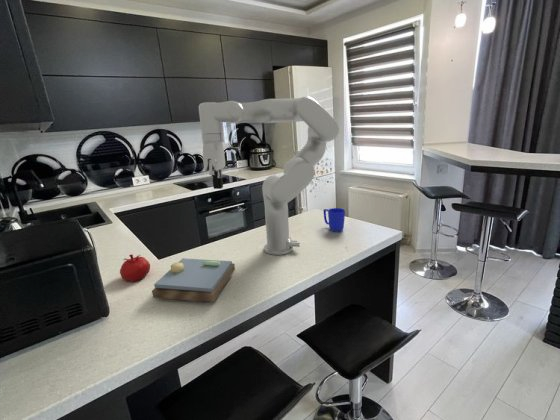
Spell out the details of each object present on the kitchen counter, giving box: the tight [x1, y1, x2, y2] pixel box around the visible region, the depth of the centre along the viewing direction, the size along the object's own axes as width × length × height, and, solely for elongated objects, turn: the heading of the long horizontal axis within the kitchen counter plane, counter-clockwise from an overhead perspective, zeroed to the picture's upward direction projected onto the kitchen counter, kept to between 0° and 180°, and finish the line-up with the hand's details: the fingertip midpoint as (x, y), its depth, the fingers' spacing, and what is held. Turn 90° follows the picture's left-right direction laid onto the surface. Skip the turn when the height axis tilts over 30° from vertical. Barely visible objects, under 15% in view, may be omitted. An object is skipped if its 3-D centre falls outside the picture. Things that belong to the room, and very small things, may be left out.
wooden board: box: [151, 262, 236, 303], centre depth 98 cm, size 20×20×4 cm
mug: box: [323, 207, 346, 232], centre depth 144 cm, size 8×12×10 cm
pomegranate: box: [119, 253, 151, 283], centre depth 106 cm, size 10×10×9 cm
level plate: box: [153, 257, 233, 292], centre depth 97 cm, size 19×18×3 cm
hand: (218, 188), depth 111 cm, fingers closed
